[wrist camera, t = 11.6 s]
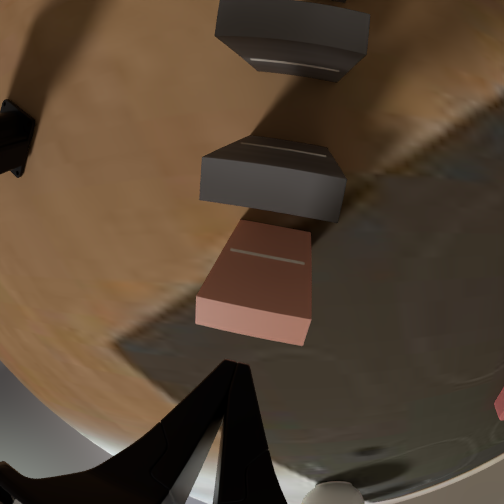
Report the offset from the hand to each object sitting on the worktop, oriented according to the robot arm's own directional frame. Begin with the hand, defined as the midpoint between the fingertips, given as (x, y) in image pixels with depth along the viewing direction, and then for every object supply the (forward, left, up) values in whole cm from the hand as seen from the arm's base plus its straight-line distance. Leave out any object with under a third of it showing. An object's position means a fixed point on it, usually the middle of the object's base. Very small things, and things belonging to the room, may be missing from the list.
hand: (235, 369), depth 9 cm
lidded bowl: (+41, -34, -13) cm, 54 cm away
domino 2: (-2, +5, -13) cm, 14 cm away
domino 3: (0, -1, -13) cm, 13 cm away
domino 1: (-5, +10, -13) cm, 17 cm away
